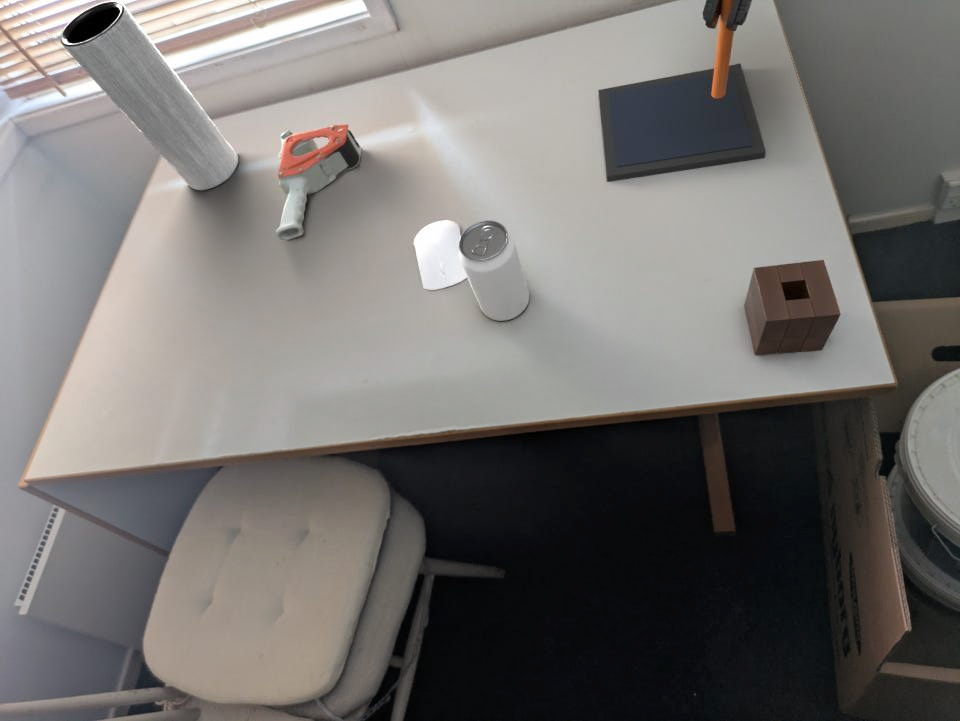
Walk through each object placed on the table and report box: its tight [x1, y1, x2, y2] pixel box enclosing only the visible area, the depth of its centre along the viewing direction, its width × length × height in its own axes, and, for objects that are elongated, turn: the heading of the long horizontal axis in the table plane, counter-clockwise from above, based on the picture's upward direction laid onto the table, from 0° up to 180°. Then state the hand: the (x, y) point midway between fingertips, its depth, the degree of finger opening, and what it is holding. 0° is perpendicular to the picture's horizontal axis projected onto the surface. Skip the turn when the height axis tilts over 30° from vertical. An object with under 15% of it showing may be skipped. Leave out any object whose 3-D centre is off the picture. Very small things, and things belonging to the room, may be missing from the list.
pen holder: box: [743, 259, 841, 356], centre depth 61 cm, size 7×7×7 cm
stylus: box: [711, 0, 735, 99], centre depth 66 cm, size 2×2×14 cm
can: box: [459, 219, 530, 322], centre depth 70 cm, size 6×6×12 cm
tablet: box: [597, 63, 767, 182], centre depth 82 cm, size 20×18×1 cm
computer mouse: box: [413, 219, 468, 291], centre depth 80 cm, size 7×12×2 cm, turn 10°
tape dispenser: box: [274, 124, 363, 241], centre depth 93 cm, size 18×5×20 cm
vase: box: [60, 0, 239, 191], centre depth 92 cm, size 10×10×27 cm
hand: (720, 27), depth 63 cm, fingers closed on stylus, 1 cm apart
